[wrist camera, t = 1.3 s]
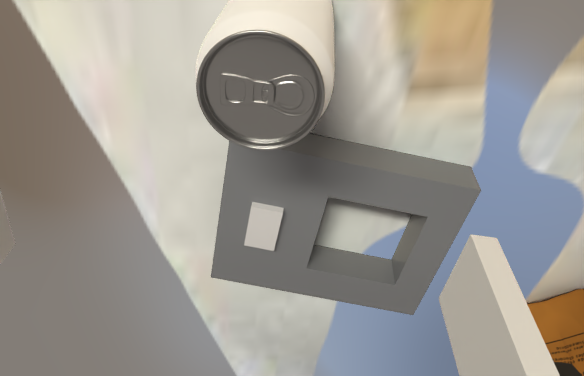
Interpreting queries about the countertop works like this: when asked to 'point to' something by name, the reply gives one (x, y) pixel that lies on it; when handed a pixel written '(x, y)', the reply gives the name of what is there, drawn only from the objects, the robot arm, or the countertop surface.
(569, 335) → the coffee package
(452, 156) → the countertop surface
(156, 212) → the countertop surface
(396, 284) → the socket plate
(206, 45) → the can
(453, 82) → the countertop surface
